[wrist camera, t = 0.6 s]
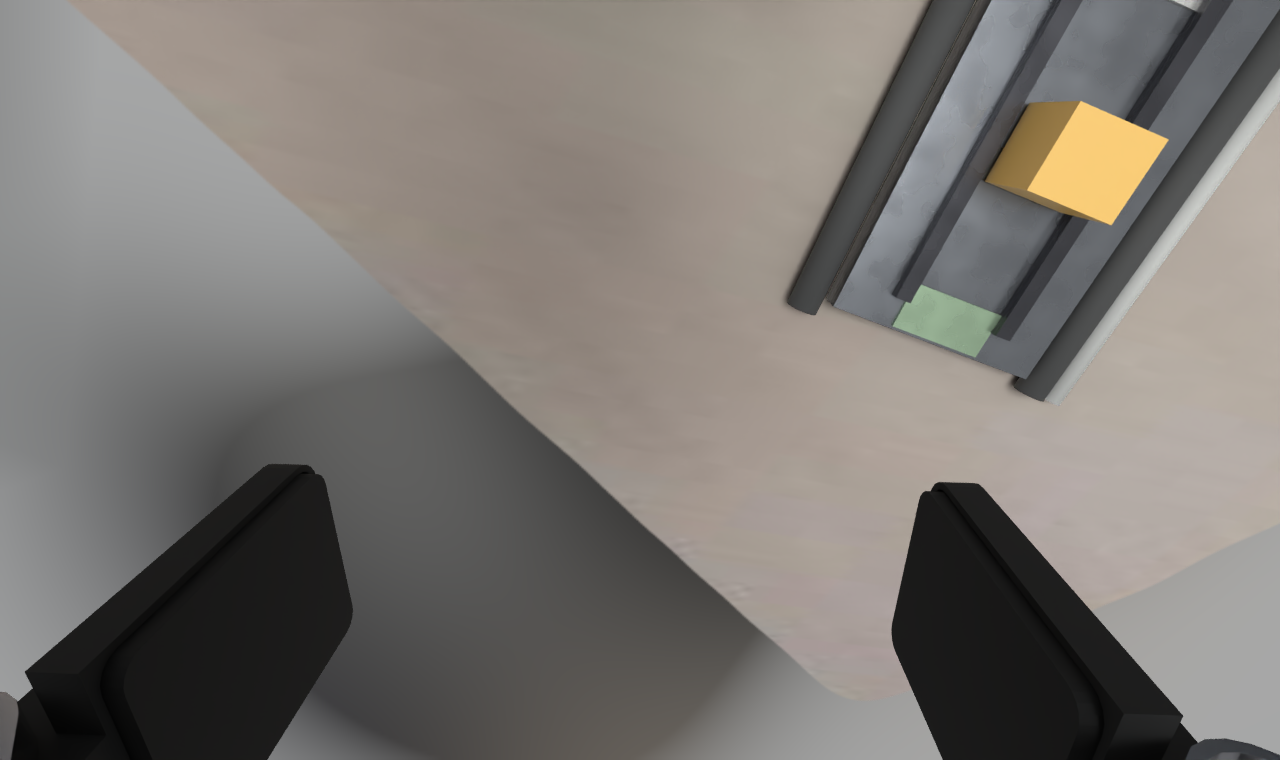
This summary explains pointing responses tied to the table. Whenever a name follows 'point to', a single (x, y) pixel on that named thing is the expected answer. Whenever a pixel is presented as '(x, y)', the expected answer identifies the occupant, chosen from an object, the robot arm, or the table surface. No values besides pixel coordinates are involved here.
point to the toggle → (1075, 159)
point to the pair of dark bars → (1212, 151)
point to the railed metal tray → (1005, 222)
